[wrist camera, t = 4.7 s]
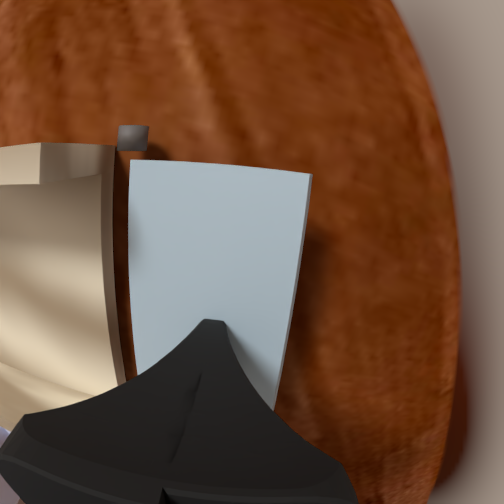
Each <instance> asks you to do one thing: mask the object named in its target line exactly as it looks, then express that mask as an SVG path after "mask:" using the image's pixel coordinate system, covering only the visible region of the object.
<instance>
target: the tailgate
mask: <svg viewBox="0 0 504 504" xmlns="http://www.w3.org/2000/svg"><path fill="white" fill-rule="evenodd" d="M312 175H313V174H307V173H299V172H292V171H284V170H275V169H266V168H257V167H247V166H237V165H225V164H213V163H199V162H183V161H162V160H131V161H130V179H129V206H128V257H129V285H130V302H131V316H132V328H133V339H134V348H135V357H136V365H137V373H138V375H139V374H141V373H143V372H144V371H146V370H147V369H149V368H150V367H151V366H153V365H154V364H155V363H157V362H158V361H159V360H160V359H162V358H163V357H164V356H165V355H167V354H168V353H169V352H170V351H172V350H173V349H174V348H175V347H176V346H177V345H178V344H179V343H180V342H181V341H182V340H183V339H184V338H186V337H187V335H188V334H189V333H190V332H191V331H192V330H193V329H194V328H195V327H196V326H197V325H198V324H199V323H200V321H202V320H203V319H213V320H221V321H224V322H225V323H226V325H227V326H226V327H227V333H228V337H229V340H230V343H231V346H232V348H233V351H234V353H235V355H236V357H237V360H238V362H239V364H240V366H241V367H242V369H243V371H244V373H245V374H246V376H247V378H248V379H249V381H250V382H251V384H252V385H253V387H254V388H255V389H256V391H257V392H258V394H259V395H260V396H261V397H262V399H263V400H264V401H265V402H266V403H267V405H268V406H269V407H270V408H271V409H272V410H273V411H274V407H275V402H276V397H277V393H278V388H279V383H280V378H281V373H282V368H283V362H284V357H285V352H286V347H287V341H288V336H289V330H290V325H291V319H292V313H293V307H294V301H295V295H296V289H297V283H298V277H299V270H300V264H301V257H302V251H303V244H304V237H305V230H306V223H307V215H308V208H309V200H310V192H311V184H312Z"/></svg>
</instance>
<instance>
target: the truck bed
mask: <svg viewBox="0 0 504 504" xmlns="http://www.w3.org/2000/svg"><path fill="white" fill-rule="evenodd" d="M148 130H149V127H148V126H141V125H122V126H119V131H118V142H117V151H147V141H148ZM114 157H115V146H112V145H96V144H74V143H33V144H24V145H16V146H8V147H0V426H1V427H3V428H4V429H6V430H8V431H10V432H11V431H12V430H13V429H14V427H15V426H16V424H17V423H18V422H19V420H20V419H21V418H22V417H23V415H24V414H30V413H36V412H41V411H45V410H50V409H55V408H60V407H64V406H67V405H71V404H74V403H77V402H80V401H83V400H86V399H89V398H92V397H94V396H97V395H100V394H102V393H104V392H107V391H109V390H111V389H113V388H115V387H117V386H119V385H121V384H123V383H125V382H126V378H125V372H124V365H123V359H122V351H121V344H120V336H119V328H118V318H117V308H116V296H115V282H114V264H113V227H112V213H113V175H114Z"/></svg>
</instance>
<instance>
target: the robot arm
mask: <svg viewBox="0 0 504 504" xmlns="http://www.w3.org/2000/svg"><path fill="white" fill-rule="evenodd" d="M226 326H227V325H226V323H225V322H224V321H221V320H213V319H203V320H202V321H200V323H199V324H198V325H197V326H196V327H195V328H194V329H193V330H192V331H191V332H190V333H189V334H188V335H187V337H186V338H184V339H183V340H182V341H181V342H180V343H179V344H178V345H177V346H176V347H175V348H174V349H173V350H172V351H170V352H169V353H168V354H167V355H165V356H164V357H163V358H162V359H160V360H159V361H158V362H157V363H155V364H154V365H153V366H151V367H150V368H149V369H147V370H146V371H144V372H143V373H141V374H139V375H138V376H136V377H134V378H133V379H131V380H129V381H127V382H125V383H123V384H121V385H119V386H117V387H115V388H113V389H111V390H109V391H107V392H104V393H102V394H100V395H97V396H94V397H92V398H89V399H86V400H83V401H80V402H77V403H74V404H71V405H67V406H64V407H60V408H55V409H50V410H45V411H41V412H36V413H30V414H24V415H23V417H22V418H21V419H20V420H19V422H18V423H17V424H16V426H15V427H14V429H13V430H12V431H11V432H10V431H8V430H6V429H4V428H3V427H1V426H0V504H17V502H18V501H19V499H20V498H21V499H22V500H23V502H24V503H26V504H358V499H357V496H356V493H355V491H354V488H353V486H352V484H351V482H350V480H349V477H348V475H347V473H346V471H345V469H344V467H343V465H342V464H341V463H340V462H338V461H336V460H335V459H333V458H332V457H330V456H328V455H327V454H325V453H324V452H322V451H320V450H319V449H317V448H316V447H314V446H313V445H311V444H310V443H308V442H307V441H306V440H304V439H303V438H302V437H301V436H299V435H298V434H297V433H296V432H294V431H293V430H292V429H291V428H290V427H289V426H288V425H287V424H286V423H285V422H284V421H283V420H282V419H281V418H280V417H279V416H278V415H277V414H276V413H275V412H274V411H273V410H272V409H271V408H270V407H269V406H268V405H267V403H266V402H265V401H264V400H263V399H262V397H261V396H260V395H259V394H258V392H257V391H256V389H255V388H254V387H253V385H252V384H251V382H250V381H249V379H248V378H247V376H246V374H245V373H244V371H243V369H242V367H241V366H240V364H239V362H238V360H237V357H236V355H235V353H234V351H233V348H232V346H231V343H230V340H229V337H228V333H227V327H226Z"/></svg>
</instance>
